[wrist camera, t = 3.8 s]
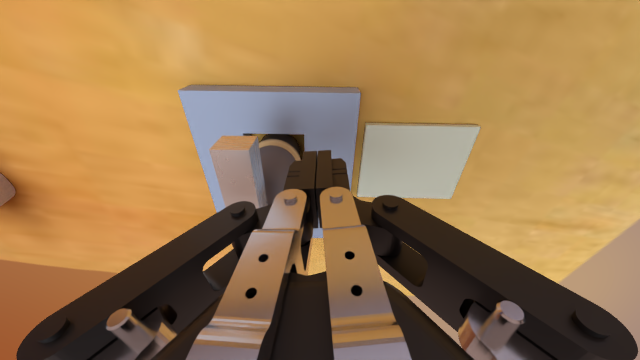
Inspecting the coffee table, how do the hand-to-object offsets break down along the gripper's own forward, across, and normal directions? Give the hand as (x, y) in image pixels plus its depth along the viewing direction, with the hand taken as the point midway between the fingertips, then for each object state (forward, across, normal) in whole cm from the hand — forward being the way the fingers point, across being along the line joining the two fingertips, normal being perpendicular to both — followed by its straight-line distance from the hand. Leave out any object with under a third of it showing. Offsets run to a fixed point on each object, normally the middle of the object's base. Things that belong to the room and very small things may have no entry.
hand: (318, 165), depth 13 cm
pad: (+9, -9, +6) cm, 14 cm away
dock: (+9, +4, +5) cm, 12 cm away
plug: (+9, +4, +3) cm, 11 cm away
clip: (0, +5, +6) cm, 7 cm away
